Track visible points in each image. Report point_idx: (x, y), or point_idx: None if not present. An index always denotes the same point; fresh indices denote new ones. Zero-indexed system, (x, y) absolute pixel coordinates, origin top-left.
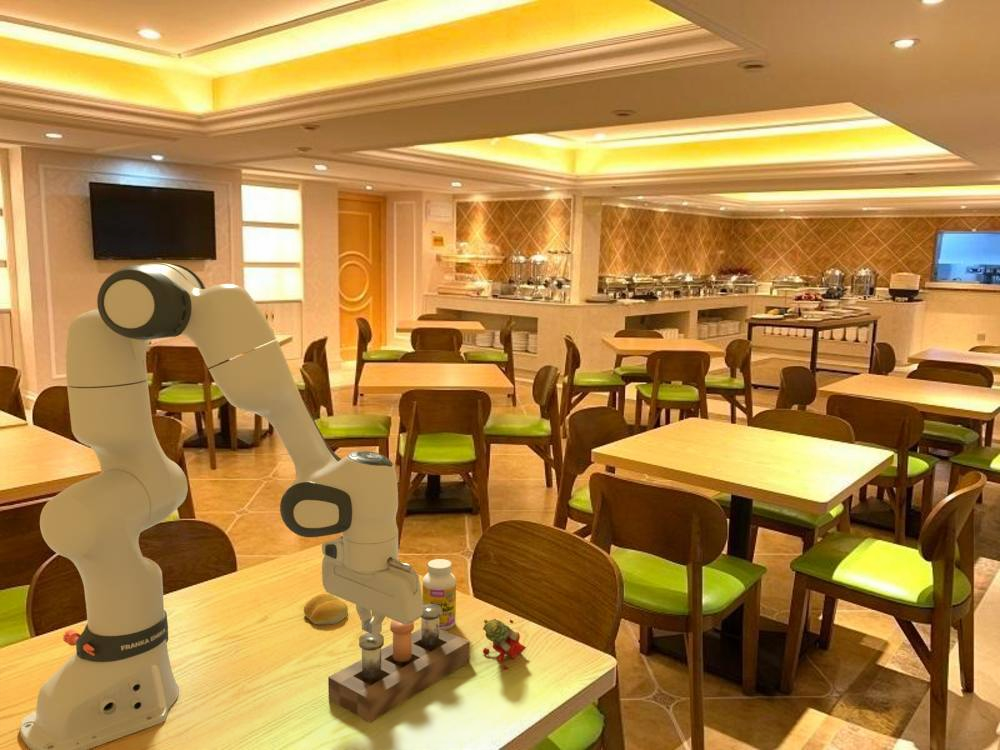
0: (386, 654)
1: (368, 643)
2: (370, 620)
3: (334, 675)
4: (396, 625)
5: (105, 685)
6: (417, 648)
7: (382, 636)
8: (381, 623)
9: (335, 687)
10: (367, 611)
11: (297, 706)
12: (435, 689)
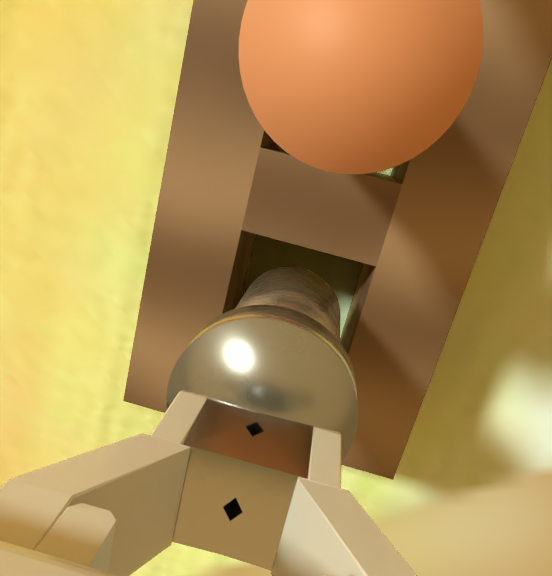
0: (244, 94)
1: None
2: (208, 494)
3: (138, 379)
4: (332, 127)
5: None
6: None
7: (323, 354)
8: (339, 479)
9: None
10: (113, 510)
11: (97, 427)
12: (542, 98)
